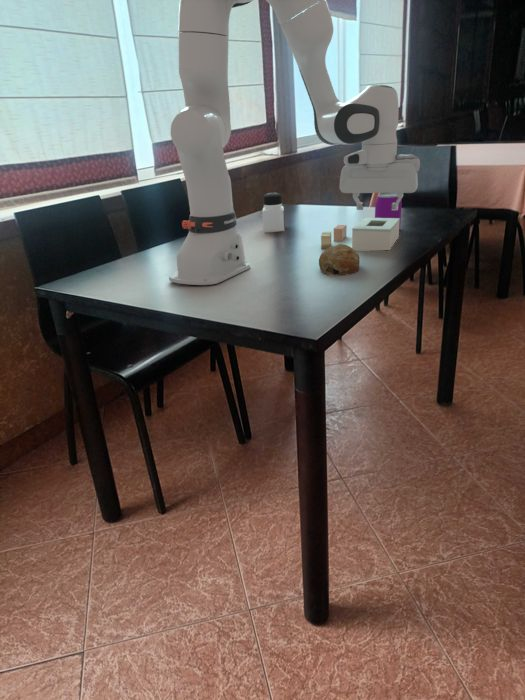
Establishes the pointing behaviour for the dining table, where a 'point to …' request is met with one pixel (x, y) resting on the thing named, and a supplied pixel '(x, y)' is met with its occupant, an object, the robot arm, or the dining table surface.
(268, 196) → the medicine bottle
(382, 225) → the box
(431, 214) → the dining table surface
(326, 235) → the maple token
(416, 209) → the dining table surface
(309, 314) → the dining table surface
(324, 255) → the bread roll
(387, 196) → the beverage can
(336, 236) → the salmon pink block
